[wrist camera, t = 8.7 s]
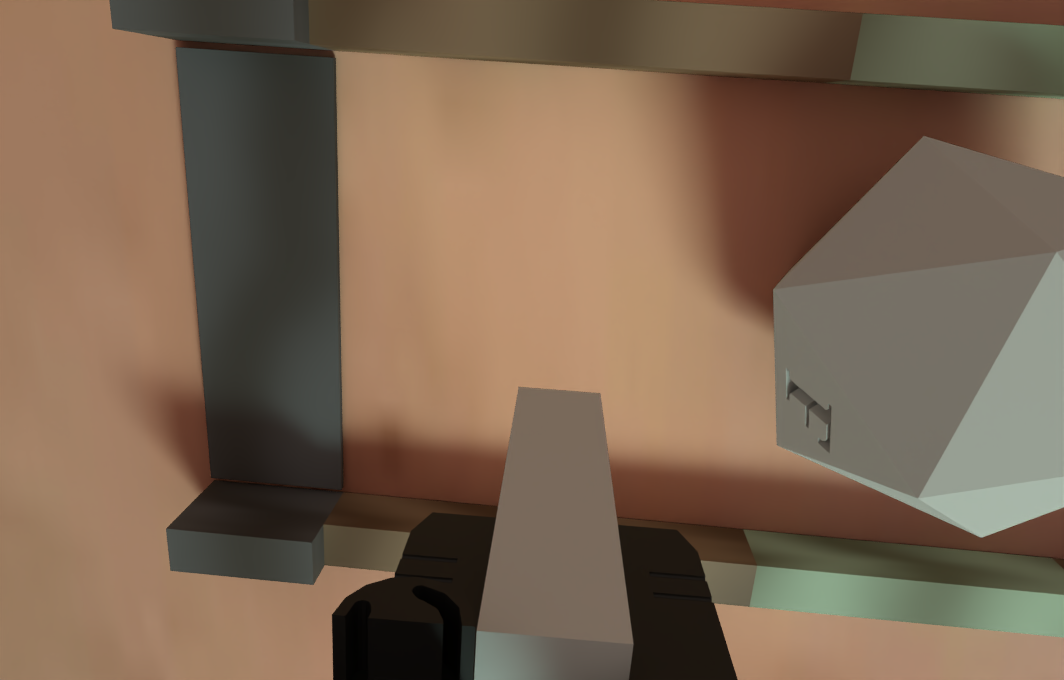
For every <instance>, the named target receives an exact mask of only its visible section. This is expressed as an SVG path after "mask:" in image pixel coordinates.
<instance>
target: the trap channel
mask: <svg viewBox="0 0 1064 680" xmlns="http://www.w3.org/2000/svg"><path fill="white" fill-rule="evenodd" d="M110 9H111V19H112V28H113V29H118V30H124V31H129V32H135V33H141V34H146V35H152V36H158V37H163V38H169V39H175V40H183V41H198V42H213V43H228V44H243V45H258V46H273V47H288V48H303V49H319V50H334V51H349V52H364V53H379V54H394V55H409V56H424V57H439V58H454V59H469V60H484V61H500V62H515V63H530V64H545V65H560V66H575V67H590V68H605V69H620V70H635V71H650V72H665V73H680V74H696V75H711V76H726V77H741V78H756V79H771V80H786V81H801V82H816V83H831V84H846V85H861V86H877V87H892V88H907V89H922V90H937V91H952V92H967V93H982V94H997V95H1012V96H1027V97H1042V98H1058V99H1064V26H1060V25H1044V24H1028V23H1012V22H996V21H980V20H964V19H948V18H931V17H915V16H899V15H883V14H867V13H851V12H835V11H819V10H803V9H786V8H770V7H754V6H738V5H722V4H706V3H690V2H674V1H657V0H110ZM176 57H177V70H178V82H179V94H180V106H181V118H182V130H183V142H184V154H185V167H186V179H187V191H188V203H189V215H190V227H191V239H192V251H193V264H194V276H195V288H196V300H197V312H198V324H199V336H200V348H201V361H202V373H203V385H204V397H205V409H206V421H207V433H208V445H209V458H210V470H211V478H219V479H229V480H240V481H251V482H262V483H272V484H283V485H294V486H305V487H315V488H326V489H337V490H342V488H343V436H342V381H341V327H340V272H339V217H338V162H337V107H336V58H329V57H314V56H299V55H284V54H269V53H254V52H239V51H224V50H209V49H194V48H180V47H176ZM497 510H498V506H487V505H476V504H465V503H455V502H444V501H433V500H422V499H412V498H401V497H390V496H379V495H369V494H358V493H347V492H336V491H326V490H315V489H304V488H294V487H283V486H272V485H261V484H251V483H240V482H229V481H218V480H214V481H213V482H212V483H211V484H210V485H209V486H208V487H207V488H206V489H205V490H204V491H203V492H202V493H201V494H200V495H199V496H198V497H197V498H196V499H195V500H194V501H193V502H192V503H191V504H190V505H189V506H188V507H187V508H186V509H185V510H184V511H183V512H182V513H181V514H180V515H179V516H178V517H177V518H176V519H175V520H174V521H173V522H172V523H171V524H170V525H169V526H168V527H167V528H166V532H167V542H168V551H169V560H170V570H171V571H179V572H189V573H199V574H209V575H219V576H229V577H239V578H249V579H259V580H270V581H280V582H290V583H300V584H310V585H314V583H315V581H316V579H317V577H318V576H319V574H320V572H321V570H322V569H323V567H324V565H328V566H338V567H349V568H359V569H369V570H379V571H389V572H396V569H397V567H398V564H399V561H400V559H402V553H403V551H404V548H405V545H406V543H407V540H408V537H409V535H410V532H411V530H412V529H414V528H415V527H416V526H417V525H418V524H419V523H421V522H422V521H423V520H424V519H425V518H426V517H428V516H429V515H430V514H431V513H432V512H436V513H448V514H460V515H472V516H485V517H496V516H497ZM617 523H618V525H625V526H638V527H650V528H662V529H674V530H678V531H679V532H680V534H681V535H682V536H683V537H684V538H685V539H686V540H687V541H688V542H689V543H690V544H691V545H692V546H693V547H694V548H695V549H696V550H697V551H698V554H699V557H700V560H701V564H702V567H703V570H704V573H705V581H707V583H708V586H709V589H710V593H711V596H712V602H713V603H717V604H727V605H738V606H748V607H758V608H768V609H778V610H789V611H799V612H809V613H819V614H830V615H840V616H850V617H860V618H871V619H881V620H891V621H901V622H912V623H922V624H932V625H942V626H952V627H963V628H973V629H983V630H993V631H1004V632H1014V633H1024V634H1034V635H1045V636H1055V637H1064V559H1056V558H1045V557H1034V556H1024V555H1013V554H1002V553H991V552H981V551H970V550H959V549H949V548H938V547H927V546H916V545H906V544H895V543H884V542H873V541H863V540H852V539H841V538H830V537H820V536H809V535H798V534H787V533H777V532H766V531H755V530H744V529H734V528H723V527H712V526H702V525H691V524H680V523H669V522H659V521H648V520H637V519H626V518H617Z"/></svg>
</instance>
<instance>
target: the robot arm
mask: <svg viewBox="0 0 1064 680" xmlns="http://www.w3.org/2000/svg"><path fill="white" fill-rule="evenodd" d="M332 635H333V680H737V676H736V673H735V670H734V667H733V663H732V660H731V657H730V654H729V651H728V647H727V644H726V641H725V638H724V634H723V631H722V628H721V625H720V622H719V618H718V615H717V612H716V609H715V605H714V603H713V602H712V596H711V593H710V589H709V586H708V583H707V581H705V573H704V570H703V567H702V564H701V560H700V557H699V554H698V551H697V550H696V549H695V548H694V547H693V546H692V545H691V544H690V543H689V542H688V541H687V540H686V539H685V538H684V537H683V536H682V535H681V534H680V532H679V531H678V530H674V529H662V528H650V527H638V526H625V525H618V523H617V516H616V508H615V501H614V493H613V485H612V478H611V470H610V463H609V455H608V448H607V440H606V432H605V425H604V417H603V410H602V402H601V395H600V393H591V392H578V391H566V390H553V389H540V388H527V387H519V388H518V394H517V400H516V406H515V412H514V417H513V423H512V429H511V435H510V441H509V446H508V452H507V458H506V464H505V469H504V475H503V481H502V487H501V493H500V498H499V504H498V510H497V516H496V517H485V516H472V515H460V514H448V513H436V512H432V513H431V514H430V515H429V516H428V517H426V518H425V519H424V520H423V521H422V522H421V523H419V524H418V525H417V526H416V527H415V528H414V529H412V530H411V532H410V535H409V537H408V540H407V543H406V545H405V548H404V551H403V553H402V559H400V561H399V564H398V567H397V569H396V572H395V578H389V579H385V580H382V581H378V582H375V583H371V584H368V585H365V586H364V587H362V588H361V589H359V590H357V591H356V592H354V593H352V594H351V595H349V596H347V597H346V598H345V599H344V600H343V602H342V603H341V604H340V605H339V607H338V608H337V609H336V610H335V612H334V613H333V614H332Z"/></svg>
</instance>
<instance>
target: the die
mask: <svg viewBox="0 0 1064 680" xmlns="http://www.w3.org/2000/svg"><path fill="white" fill-rule="evenodd" d="M773 305H774V347H775V389H776V432H777V445H778V446H780V447H782V448H784V449H786V450H789V451H791V452H793V453H795V454H797V455H800V456H802V457H804V458H806V459H808V460H811V461H813V462H815V463H817V464H820V465H822V466H824V467H826V468H828V469H831V470H833V471H835V472H837V473H839V474H842V475H844V476H846V477H848V478H850V479H853V480H855V481H857V482H859V483H861V484H864V485H866V486H868V487H870V488H873V489H875V490H877V491H879V492H881V493H884V494H886V495H888V496H890V497H892V498H895V499H897V500H899V501H901V502H903V503H906V504H908V505H910V506H912V507H914V508H917V509H919V510H921V511H923V512H926V513H928V514H930V515H932V516H934V517H937V518H939V519H941V520H943V521H945V522H948V523H950V524H952V525H954V526H956V527H959V528H961V529H963V530H965V531H967V532H970V533H972V534H974V535H976V536H979V537H981V538H982V537H985V536H987V535H990V534H993V533H996V532H998V531H1001V530H1004V529H1006V528H1009V527H1012V526H1014V525H1017V524H1020V523H1023V522H1025V521H1028V520H1031V519H1033V518H1036V517H1039V516H1042V515H1044V514H1047V513H1050V512H1052V511H1055V510H1058V509H1060V508H1063V507H1064V177H1061V176H1058V175H1054V174H1051V173H1048V172H1044V171H1041V170H1037V169H1034V168H1031V167H1027V166H1024V165H1021V164H1017V163H1014V162H1010V161H1007V160H1004V159H1000V158H997V157H993V156H990V155H987V154H983V153H980V152H977V151H973V150H970V149H966V148H963V147H960V146H956V145H953V144H950V143H946V142H943V141H939V140H936V139H933V138H929V137H926V136H923V137H922V138H921V139H920V140H919V141H918V142H917V143H916V144H915V145H914V146H913V147H912V148H911V149H910V150H909V151H908V152H907V153H906V154H905V155H904V156H903V157H902V158H901V159H900V160H899V161H898V162H897V163H896V164H895V165H894V166H893V167H892V168H891V169H890V170H889V171H888V172H887V173H886V174H885V175H884V176H883V177H882V178H881V179H880V180H879V181H878V182H877V183H876V184H875V185H874V186H873V187H872V188H871V189H870V190H869V191H868V192H867V193H866V194H865V195H864V196H863V197H862V198H861V199H860V200H859V201H858V202H857V203H856V204H855V205H854V206H853V207H852V208H851V209H850V210H849V211H848V212H847V213H846V214H845V215H844V216H843V217H842V218H841V219H840V220H839V221H838V222H837V223H836V224H835V225H834V226H833V227H832V228H831V229H830V230H829V231H828V232H827V233H826V234H825V235H824V236H823V237H822V238H821V239H820V240H819V241H818V242H817V243H816V244H815V245H814V246H813V247H812V248H811V249H810V250H809V251H808V252H807V253H806V254H805V255H804V256H803V257H802V258H801V259H800V260H799V261H798V262H797V263H796V264H795V265H794V266H793V267H792V268H791V269H790V270H789V271H788V273H787V274H786V275H785V276H784V277H783V278H782V280H781V281H780V282H779V283H778V284H777V285H776V287H775V288H774V289H773Z"/></svg>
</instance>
